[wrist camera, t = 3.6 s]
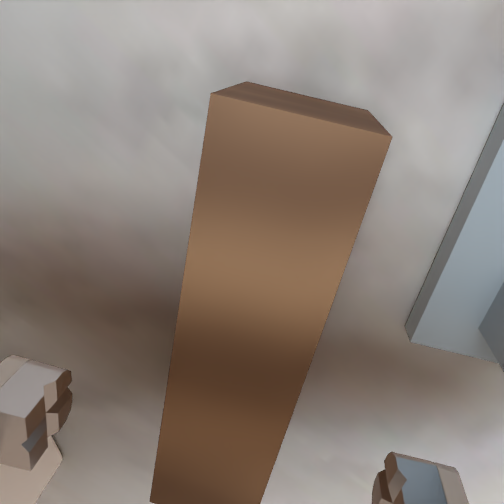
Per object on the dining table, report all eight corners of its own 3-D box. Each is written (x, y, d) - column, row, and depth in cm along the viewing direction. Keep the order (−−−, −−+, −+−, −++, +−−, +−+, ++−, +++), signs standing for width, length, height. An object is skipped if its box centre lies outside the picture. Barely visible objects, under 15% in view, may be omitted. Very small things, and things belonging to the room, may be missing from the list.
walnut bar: (265, 424, 20) (250, 530, 15) (187, 402, 20) (149, 501, 16) (367, 109, 13) (392, 136, 9) (247, 81, 13) (210, 93, 9)
